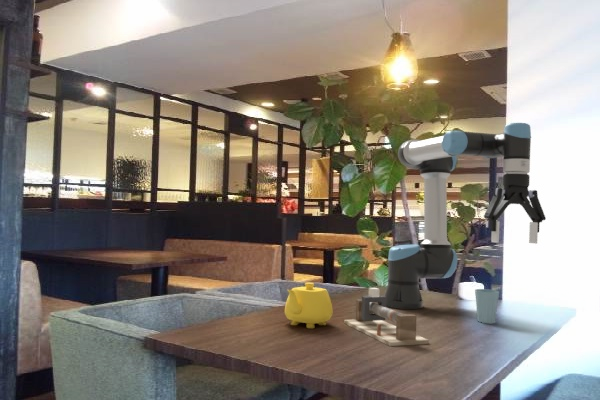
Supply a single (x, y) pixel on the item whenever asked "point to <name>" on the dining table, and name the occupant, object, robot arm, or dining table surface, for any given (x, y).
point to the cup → (486, 305)
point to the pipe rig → (388, 326)
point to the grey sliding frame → (366, 305)
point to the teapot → (308, 305)
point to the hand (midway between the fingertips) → (514, 242)
